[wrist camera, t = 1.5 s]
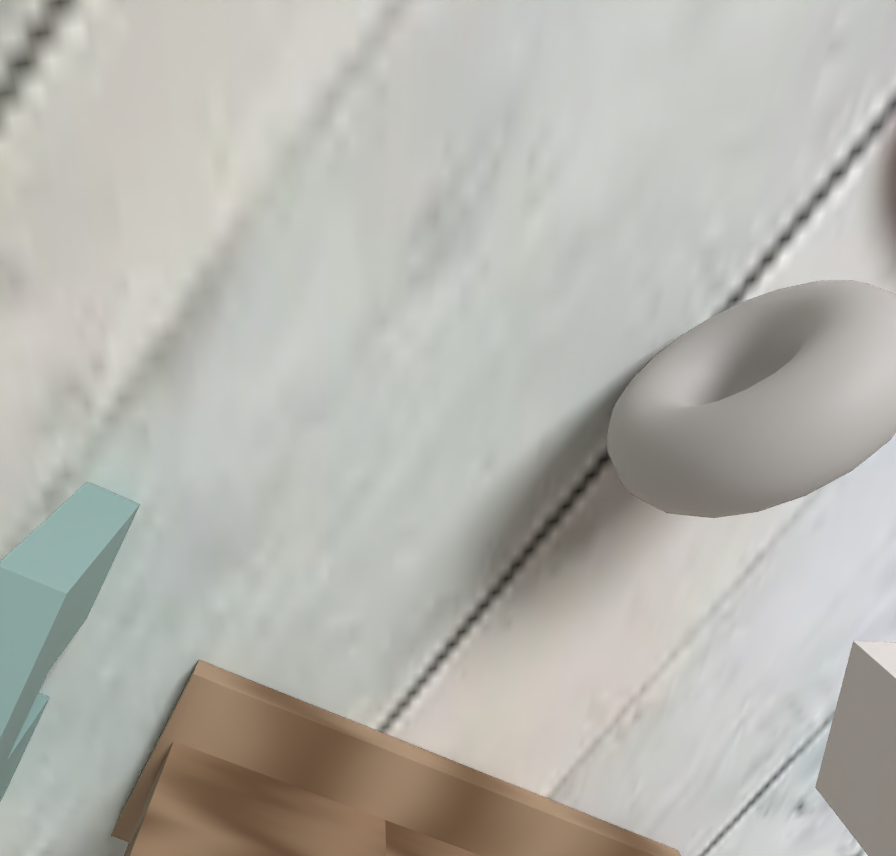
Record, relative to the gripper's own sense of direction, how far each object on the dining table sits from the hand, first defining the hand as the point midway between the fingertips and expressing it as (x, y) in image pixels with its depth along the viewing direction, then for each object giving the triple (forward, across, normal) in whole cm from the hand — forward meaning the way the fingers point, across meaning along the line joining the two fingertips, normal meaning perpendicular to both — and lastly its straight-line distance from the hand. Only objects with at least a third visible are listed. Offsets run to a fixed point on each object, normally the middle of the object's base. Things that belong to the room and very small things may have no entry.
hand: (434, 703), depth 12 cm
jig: (+18, +2, -19) cm, 26 cm away
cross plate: (+18, -13, -10) cm, 24 cm away
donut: (+18, +11, +3) cm, 21 cm away
